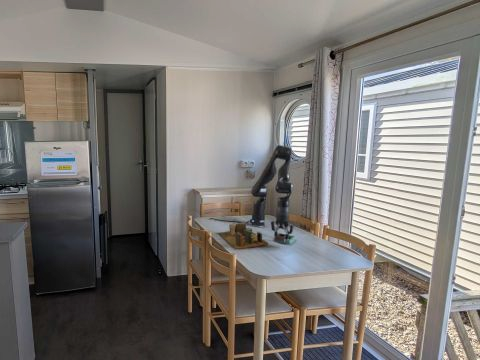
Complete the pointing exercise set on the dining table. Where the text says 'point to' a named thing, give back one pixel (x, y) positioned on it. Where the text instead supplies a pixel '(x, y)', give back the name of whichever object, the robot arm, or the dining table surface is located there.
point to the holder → (288, 240)
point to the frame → (280, 237)
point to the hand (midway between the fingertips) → (281, 238)
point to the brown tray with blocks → (242, 236)
